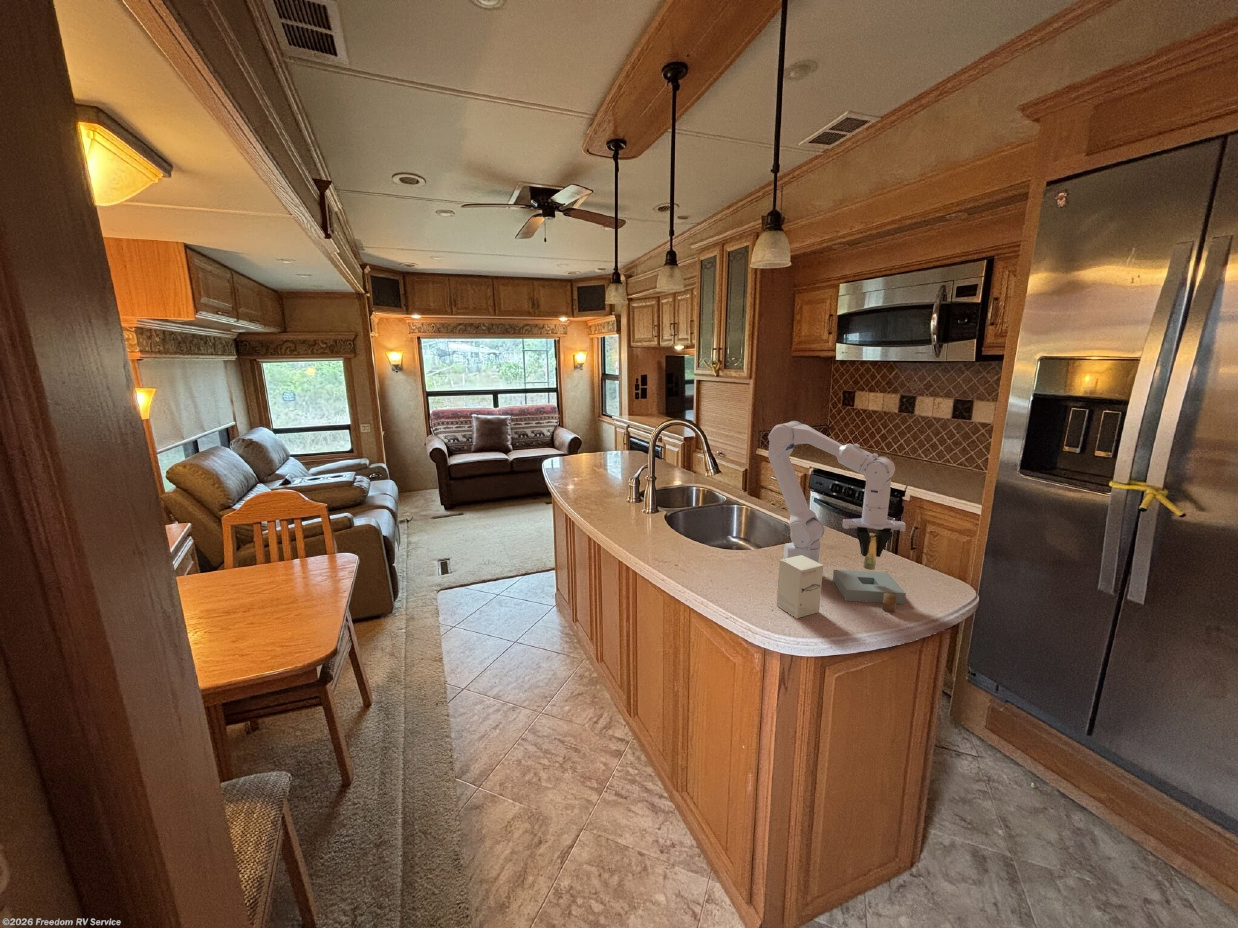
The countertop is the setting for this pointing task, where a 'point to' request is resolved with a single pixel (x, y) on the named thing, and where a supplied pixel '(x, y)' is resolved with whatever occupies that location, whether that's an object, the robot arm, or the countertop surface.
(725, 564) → the countertop surface
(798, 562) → the supplement box
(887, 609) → the short pin
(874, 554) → the long pin
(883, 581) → the hole plate
